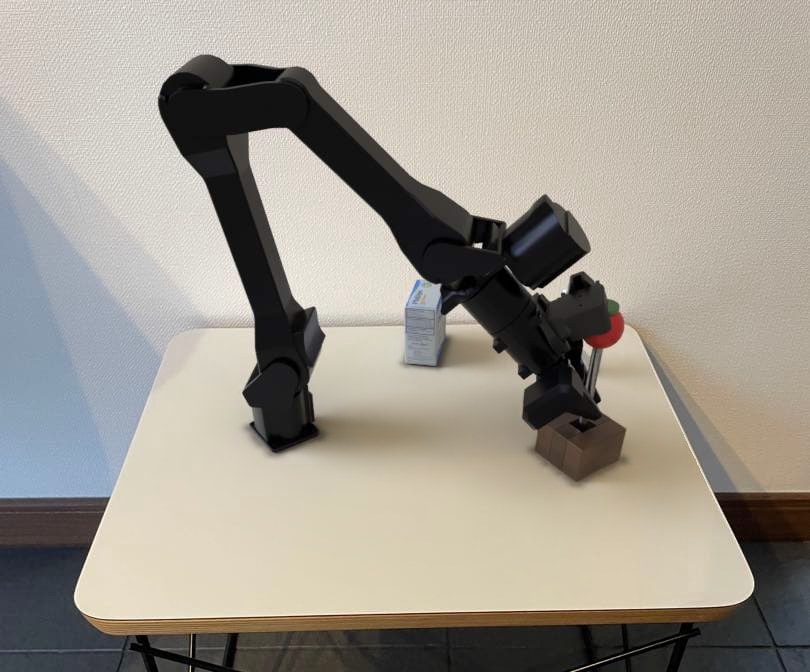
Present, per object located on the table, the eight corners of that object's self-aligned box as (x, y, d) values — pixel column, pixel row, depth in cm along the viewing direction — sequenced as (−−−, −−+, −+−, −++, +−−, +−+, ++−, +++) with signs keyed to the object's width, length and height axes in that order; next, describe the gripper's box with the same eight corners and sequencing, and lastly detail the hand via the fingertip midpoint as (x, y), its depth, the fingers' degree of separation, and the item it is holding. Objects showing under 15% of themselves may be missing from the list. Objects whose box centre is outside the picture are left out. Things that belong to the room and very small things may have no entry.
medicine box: (436, 367, 104) (438, 309, 97) (404, 364, 104) (403, 305, 98) (445, 338, 109) (448, 280, 103) (415, 334, 110) (415, 277, 104)
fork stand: (575, 482, 87) (582, 451, 84) (534, 450, 91) (539, 419, 88) (619, 459, 90) (627, 428, 86) (577, 430, 94) (583, 399, 90)
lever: (576, 471, 88) (606, 320, 74) (550, 452, 91) (575, 302, 77) (603, 458, 90) (638, 307, 76) (577, 439, 92) (606, 290, 79)
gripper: (574, 310, 68) (671, 422, 74) (572, 223, 81) (654, 325, 87) (479, 379, 74) (576, 477, 81) (491, 288, 87) (574, 379, 94)
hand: (598, 410), depth 85 cm, fingers open, 3 cm apart
